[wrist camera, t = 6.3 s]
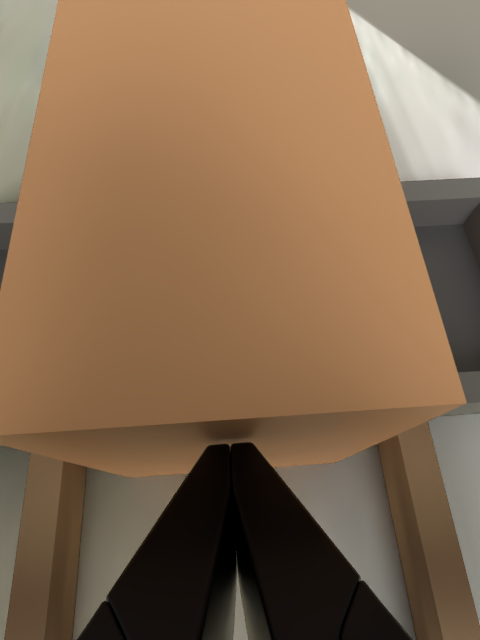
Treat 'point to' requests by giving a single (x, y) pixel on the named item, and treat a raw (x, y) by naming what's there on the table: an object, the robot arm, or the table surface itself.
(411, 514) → the small wooden bench
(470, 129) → the table surface
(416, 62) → the table surface
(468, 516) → the table surface
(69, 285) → the orange tan rectangular block
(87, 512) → the table surface
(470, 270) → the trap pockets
